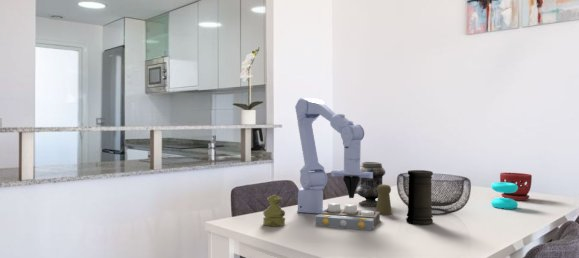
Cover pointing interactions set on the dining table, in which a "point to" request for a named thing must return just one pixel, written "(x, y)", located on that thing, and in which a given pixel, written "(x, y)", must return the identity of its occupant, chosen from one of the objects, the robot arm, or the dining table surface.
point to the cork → (383, 200)
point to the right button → (367, 213)
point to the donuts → (504, 202)
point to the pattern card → (345, 222)
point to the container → (419, 197)
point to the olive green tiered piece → (274, 213)
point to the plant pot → (522, 190)
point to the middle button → (350, 209)
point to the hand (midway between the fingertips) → (351, 197)
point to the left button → (334, 207)
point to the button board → (355, 215)
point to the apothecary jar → (370, 183)
